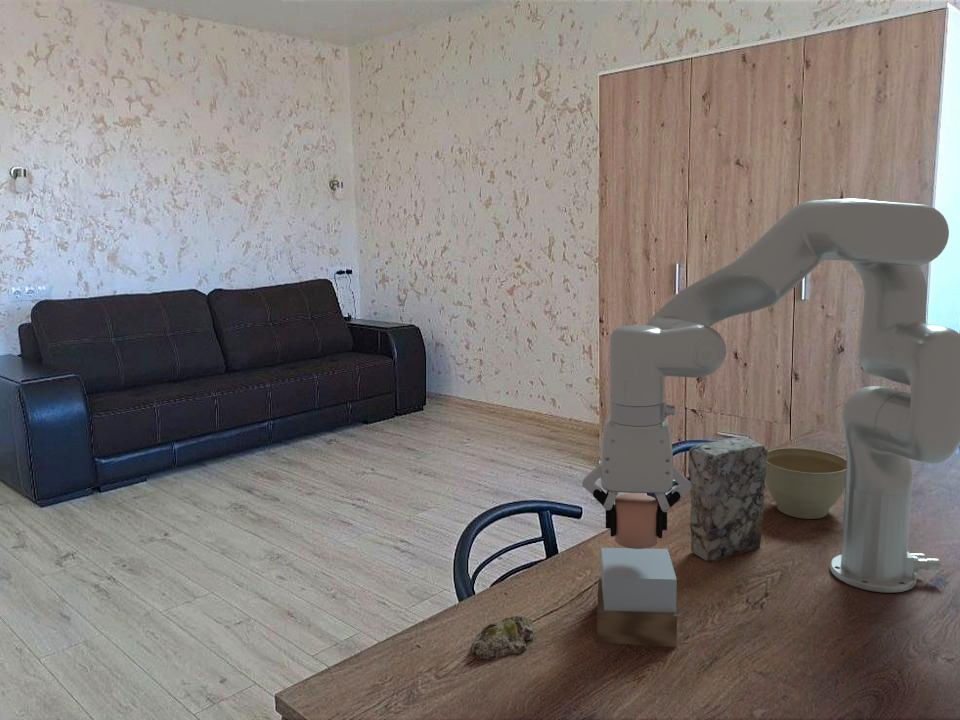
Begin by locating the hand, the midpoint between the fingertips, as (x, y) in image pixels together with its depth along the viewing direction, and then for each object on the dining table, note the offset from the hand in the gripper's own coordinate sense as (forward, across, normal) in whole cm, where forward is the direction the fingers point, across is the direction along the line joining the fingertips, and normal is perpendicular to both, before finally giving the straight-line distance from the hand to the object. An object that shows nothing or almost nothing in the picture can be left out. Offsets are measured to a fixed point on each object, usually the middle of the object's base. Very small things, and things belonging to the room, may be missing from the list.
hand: (635, 532), depth 110 cm
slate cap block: (+10, 0, 0) cm, 10 cm away
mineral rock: (+15, +19, +7) cm, 25 cm away
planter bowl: (+14, -35, -47) cm, 61 cm away
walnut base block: (+15, 0, 0) cm, 15 cm away
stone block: (+15, -17, -27) cm, 35 cm away
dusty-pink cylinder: (+1, 0, 0) cm, 1 cm away
